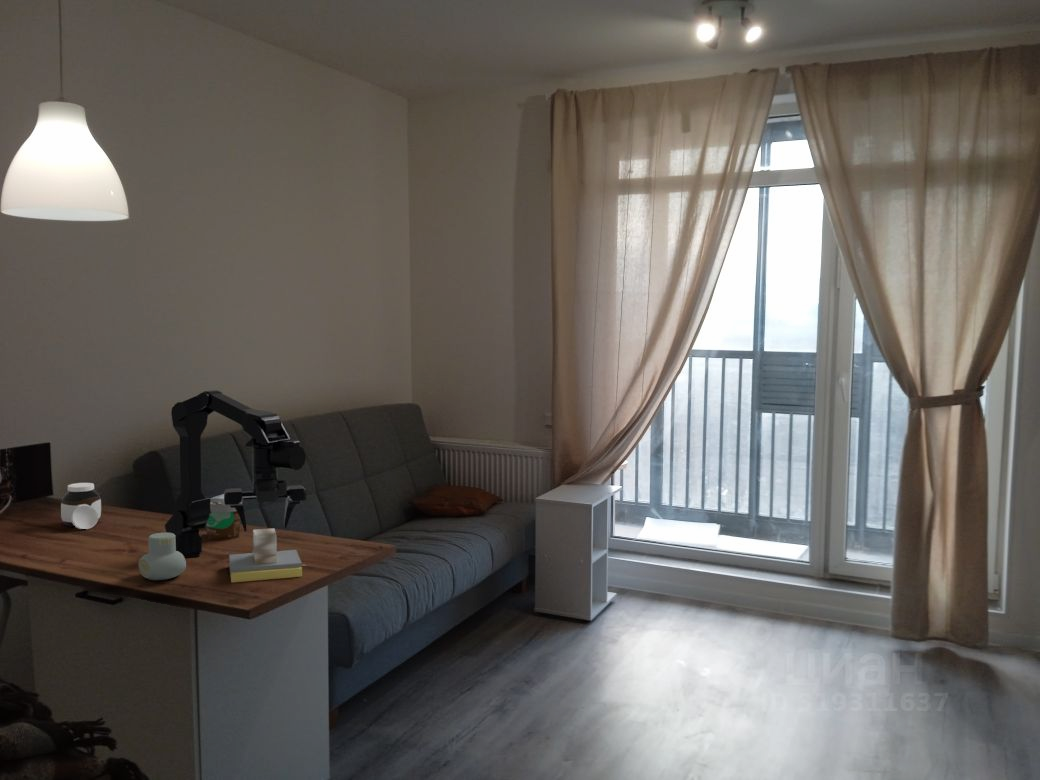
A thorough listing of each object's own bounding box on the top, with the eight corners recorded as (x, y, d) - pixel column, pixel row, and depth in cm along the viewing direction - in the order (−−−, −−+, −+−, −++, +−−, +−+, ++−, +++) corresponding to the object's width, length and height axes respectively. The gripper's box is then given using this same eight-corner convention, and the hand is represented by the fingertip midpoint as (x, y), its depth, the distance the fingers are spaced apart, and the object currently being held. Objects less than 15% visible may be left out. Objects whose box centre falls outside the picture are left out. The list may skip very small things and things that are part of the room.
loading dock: (231, 582, 195) (231, 569, 194) (229, 566, 207) (229, 554, 206) (302, 576, 200) (302, 564, 200) (296, 561, 212) (296, 549, 212)
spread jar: (85, 519, 250) (84, 480, 249) (115, 523, 246) (114, 484, 245) (51, 528, 239) (50, 488, 238) (81, 532, 235) (80, 491, 234)
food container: (192, 537, 232) (192, 502, 232) (208, 532, 238) (208, 497, 237) (227, 543, 228) (227, 506, 227) (243, 537, 233) (243, 502, 233)
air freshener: (189, 579, 197) (189, 537, 196) (153, 586, 191) (153, 543, 190) (170, 568, 204) (170, 528, 203) (135, 575, 199) (134, 533, 198)
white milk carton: (254, 564, 199) (254, 537, 199) (252, 555, 207) (252, 529, 206) (276, 562, 201) (276, 535, 200) (274, 553, 208) (274, 527, 208)
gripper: (224, 473, 191) (225, 541, 192) (308, 470, 198) (308, 535, 199) (223, 465, 201) (224, 529, 203) (303, 462, 208) (303, 524, 209)
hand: (265, 529), depth 203 cm, fingers open, 9 cm apart
